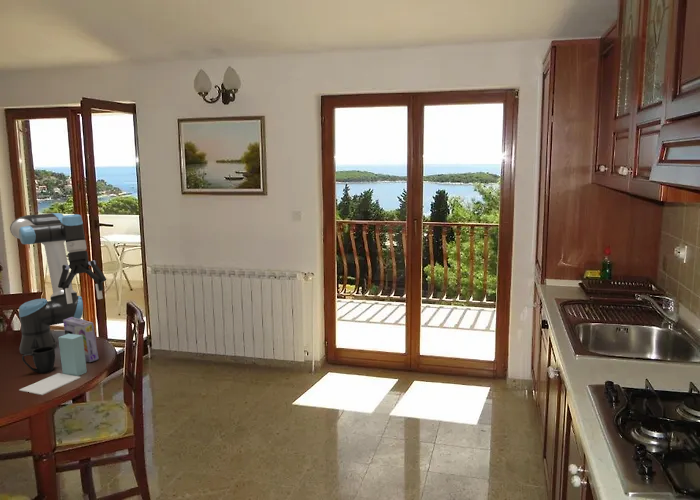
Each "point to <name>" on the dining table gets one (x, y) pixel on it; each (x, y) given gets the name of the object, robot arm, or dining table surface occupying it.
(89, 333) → the cake pan box
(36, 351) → the mug
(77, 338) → the teal block
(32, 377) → the dining table surface
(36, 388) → the white mat
